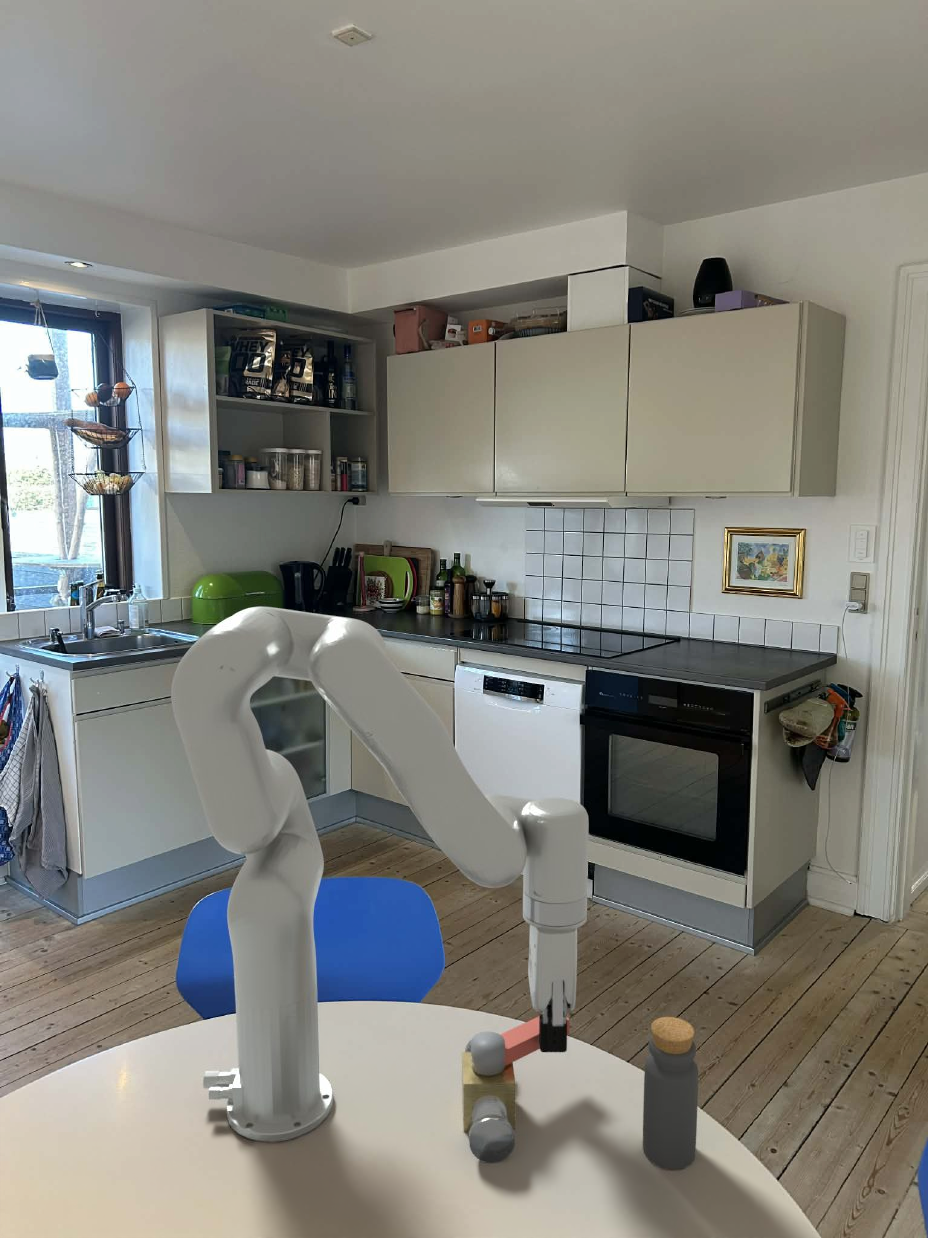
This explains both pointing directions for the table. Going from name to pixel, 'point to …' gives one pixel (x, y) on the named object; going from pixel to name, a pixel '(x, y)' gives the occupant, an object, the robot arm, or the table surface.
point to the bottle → (670, 1095)
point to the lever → (504, 1047)
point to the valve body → (488, 1110)
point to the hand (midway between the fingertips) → (552, 1048)
